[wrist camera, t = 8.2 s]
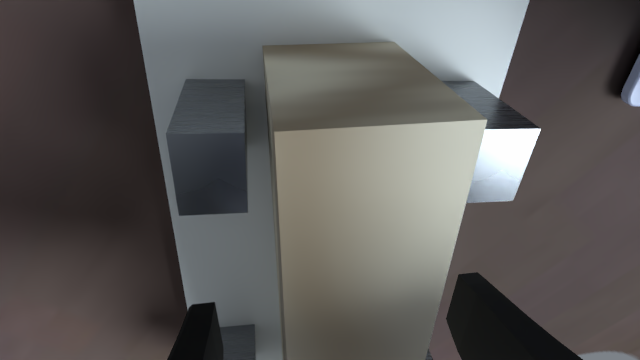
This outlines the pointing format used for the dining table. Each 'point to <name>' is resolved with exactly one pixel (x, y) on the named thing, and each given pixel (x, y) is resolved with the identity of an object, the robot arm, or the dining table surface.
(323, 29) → the cradle
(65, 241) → the dining table surface
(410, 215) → the long beige block
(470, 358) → the robot arm
